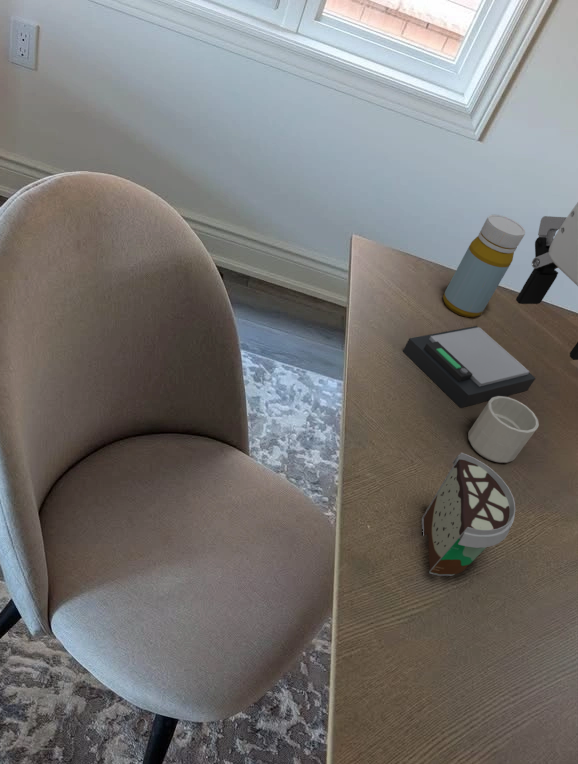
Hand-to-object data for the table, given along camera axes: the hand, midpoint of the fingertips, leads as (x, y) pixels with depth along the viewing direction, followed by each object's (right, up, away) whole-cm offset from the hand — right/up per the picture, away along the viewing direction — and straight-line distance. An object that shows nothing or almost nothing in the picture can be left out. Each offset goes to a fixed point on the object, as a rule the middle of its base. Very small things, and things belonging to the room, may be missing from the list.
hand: (552, 329), depth 81 cm
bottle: (+5, +13, +45) cm, 47 cm away
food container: (-10, -25, +3) cm, 27 cm away
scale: (+1, 0, +31) cm, 31 cm away
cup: (0, -12, +19) cm, 23 cm away
